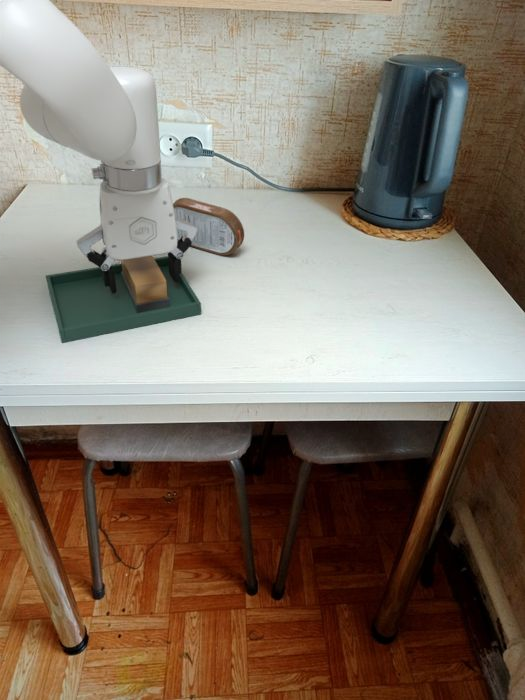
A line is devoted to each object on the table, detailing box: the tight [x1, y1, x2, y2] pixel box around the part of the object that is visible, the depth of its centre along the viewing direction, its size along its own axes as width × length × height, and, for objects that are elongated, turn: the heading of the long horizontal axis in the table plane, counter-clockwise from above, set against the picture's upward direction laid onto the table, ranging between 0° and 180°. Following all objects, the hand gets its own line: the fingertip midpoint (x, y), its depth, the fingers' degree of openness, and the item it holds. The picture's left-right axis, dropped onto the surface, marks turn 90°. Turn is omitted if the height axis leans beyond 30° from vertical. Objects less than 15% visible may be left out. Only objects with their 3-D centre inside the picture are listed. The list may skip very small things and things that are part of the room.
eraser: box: [120, 255, 170, 313], centre depth 78 cm, size 5×10×5 cm, turn 25°
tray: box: [45, 255, 202, 344], centre depth 78 cm, size 20×15×2 cm
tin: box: [173, 197, 245, 256], centre depth 91 cm, size 15×3×8 cm, turn 65°
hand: (143, 283), depth 79 cm, fingers open, 9 cm apart
